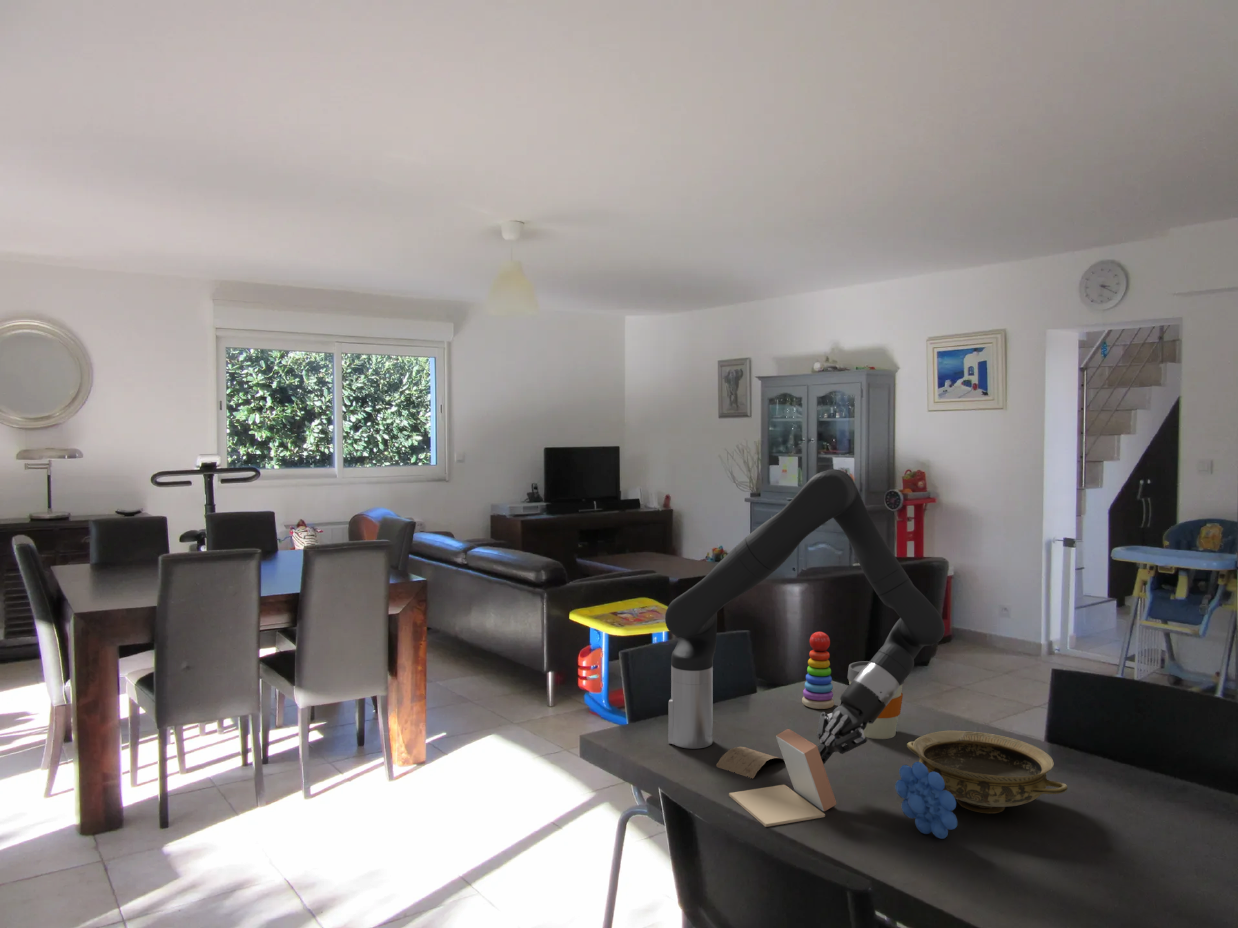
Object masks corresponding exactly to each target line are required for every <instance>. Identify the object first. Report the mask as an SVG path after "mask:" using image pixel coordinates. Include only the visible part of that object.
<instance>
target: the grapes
mask: <svg viewBox="0 0 1238 928" xmlns="http://www.w3.org/2000/svg"><path fill="white" fill-rule="evenodd" d="M898 774H899V777H900V779H898V780H897V781H896V782H895V784H894V788H895V792H896V794H897V795H898V796H899V797H900V798H902V799H903V801H901V805H900V807H901V811H902V812H903V814H904V815H905V816H906V817H907V818H909V819H914V824H915V826H916V829H917V830H918V831H919V832H920V833H921V834H924V835H929V834H931V833H932V834H933V836H935V838H938V839H941V840H943V839H945V838H946V837H948V836H949V835H948V833H949V830H955V829H956V828H957V826H958V818H957V816H956V814H955V813H954V812H953V811H954V810H955V809H956V807H957V799H956V798H955V797H954V796H953V795H952V794H951V793H950V792H949V791H946V790H943V789H944V787H945V783H944V780H943V778H942V776H941V775H940V774H939V773H937V772H935V771H934V772H930V773H929V772H928V769H927V767H926V766H925V765H924V764H923V763H921V762H919V761H914V763H913V764H912V765H911V766H909V765H908V764H903V765H902V766H901V767H899V770H898ZM942 790H943V791H942Z"/></svg>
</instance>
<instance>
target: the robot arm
mask: <svg viewBox="0 0 1238 928" xmlns="http://www.w3.org/2000/svg"><path fill="white" fill-rule="evenodd" d="M832 519H834V521H835V522H836V523H837V525H838V526H839V527H840V528H841V530H842V531H843V532H844V534H845V536H846V538H847V539H848V541H849V543H850V545H851V547H852V549H853V552H854V554H855V557H856V559H857V561H858V563H859V566H860V568H861V570H862V572H863V575H864V576H865V578H866V580H867V581H868V582H869V584H870V586H871V587H872V589H873V590H874V592H875V593H876V595H877V596H878V598H879V599H880V600H881V602H882V604H883V605H885V606H886V607H888V608H891V609H892V610H894V611H895V613H896V614H897V615H898V617H899V619H898V620H897V621H896V622H895V624H894V625H893V627H892V628H891V629H890V632H889V634H888V635H887V637H886V638H885V641H884V643H883V645H882V646H881V647H880V649H878V651H877V652H875V654H874V655H873V657H872V658H871V659H870V660H869V661H870V662H869V663H868V664H867V665H866V666H865V667H864V668H863V669H862V670H861V671H860V672H859V674H858V675H857V676H856V677H855V679H854V680H853V681H852V682H851V684H849V685H848V686H847V688H846V689H845V690H844V691H843V692H842V694H841V695H840V697H839V699H840V704H839V705H838V706H837V707H835V708H834V709H833V710H832V712H830V713H826V712H825V711H822V712H821V713H820V714H819V715H820V716H819V720H818V725H817V731H816V736H817V738H818V739H819V744H818V745H816V746H817V747H818V750H819V753H820V756H821V759H822V762H823V765H824V766H825V764H826V763H827V762H828V760H829V759H830V757H831V756H832V755H833V754H836V753H839V754H841V755H843V754H845V753H847V752H850V751H851V750H854V749H856V748H858V747H861V746H862V745H864V744H866V743H867V742H868V738H867V737H865V736H864V732H863V730H865V728H866V725H867V723H869V724H872V723H874V721H875V720H876V719H877V717H878V716H879V715H880V714H881V712H882V711H883V710H884V708H885V707H886V706H887V705H888V703H889V702H890V701H891V699H892V698H893V697H894V695H895V693H896V691H897V690H898V688H899V687H900V685H901V684H902V683H903V682H904V683H905V681H906V680H907V679H906V678H908V677H909V675H910V674H911V672H912V670H913V669H914V667H915V660H914V659H916V657H917V656H918V655H919V653H920V651H921V650H922V649H923V648H924V647H927V646H929V647H930V646H933V645H936V644H938V643H940V641H942V639H943V637H944V635H945V631H946V627H945V622H944V621H943V620H944V619H943V618H942V616H941V614H940V613H939V611H938V609H936V607H935V606H934V604H932V602H930V600H929V599H928V598H927V597H926V596H925V595H924V594H923V593H922V592H921V591H920V590H919V589H918V588H917V587H916V586H915V585H914V584H913V581H912V580H911V578H909V575H908V574H907V572H906V571H905V570H904V568H903V566H902V564H901V563H900V562H899V560H898V559H897V557H896V556H895V554H894V553H893V552H892V550H891V548H890V547H889V545H888V544H887V543H886V541H885V540H884V538H883V536H882V535H881V533H880V531H879V529H878V528H877V526H876V524H875V522H874V520H873V518H872V517H871V516H870V514H869V512H868V509H867V507H866V505H865V503H864V500H863V499H862V496H861V494H860V492H859V489H858V488H857V485H856V483H855V481H854V479H853V478H852V476H851V475H850V474H848V473H847V472H845V471H843V470H841V469H838V468H832V469H831V468H830V469H826V470H824V471H820V472H818V473H816V474H815V475H813V476H812V477H811V478H809V480H808V481H807V482H806V483H805V484H804V485H803V487H802V488H801V489H800V490H799V491H798V492H797V494H796V495H794V497H793V498H792V499H791V500H790V501H789V502H788V503H787V504H786V505H785V506H784V507H783V508H782V509H781V510H780V511H779V512H778V513H776V514H774V515H773V516H772V517H770V518H769V519H767V520H765V522H763V523H762V524H760V525H759V526H758V527H756V528H755V529H754V530H753V531H752V532H750V533H749V534H748V535H747V536H746V537H744V538H743V539H742V540H741V541H740V542H739V543H738V544H737V545H736V546H735V547H733V548H732V550H730V551H729V552H728V553H727V554H726V555H725V556H724V557H723V558H722V559H721V560H720V561H719V562H718V563H717V564H716V565H715V566H714V567H713V568H712V569H711V570H710V571H709V572H708V574H706V576H704V577H703V578H702V579H701V580H700V581H698V582H697V583H696V584H695V585H693V586H692V587H690V588H689V589H687V590H686V591H685V592H683V593H682V594H680V595H678V596H677V597H676V598H675V599H673V600H672V601H671V602H670V603H669V605H668V606H667V608H666V611H665V617H664V621H665V625H666V628H667V630H668V632H670V634H672V635H673V636H676V637H678V639H677V643H676V645H675V648H674V649H673V650H672V653H671V657H670V660H671V662H670V663H671V667H670V670H671V671H670V672H671V673H670V674H671V675H670V678H671V680H670V683H671V684H670V685H671V686H670V687H671V688H670V690H671V691H670V693H671V694H670V695H671V697H670V699H669V700H668V711H667V712H668V715H667V717H668V718H667V719H668V726H667V727H668V729H667V731H668V733H667V734H668V742H667V743H668V744H672V745H675V746H676V747H679V748H684V749H691V750H692V749H693V750H695V749H696V750H697V749H703V748H707V747H710V746H711V745H712V744H713V737H714V736H713V735H714V733H713V728H714V727H713V724H714V723H713V722H714V721H713V717H714V716H713V714H714V712H713V711H714V710H713V709H714V707H713V697H714V695H713V694H714V693H713V692H714V691H713V687H714V686H713V682H714V681H713V671H714V668H713V667H714V666H713V665H714V664H713V662H714V661H713V660H714V656H715V653H716V650H717V632H718V631H717V630H718V612H719V611H720V610H721V609H722V608H723V607H725V606H726V605H727V604H729V603H730V602H732V601H733V600H735V599H737V598H738V597H741V596H742V595H744V594H746V593H747V592H748V591H750V590H752V589H753V588H755V587H757V585H760V583H762V582H763V581H765V580H766V579H767V578H768V577H769V576H771V574H773V573H774V572H775V571H776V570H777V569H779V568H780V567H781V566H782V565H783V563H785V562H786V561H787V560H788V558H789V557H790V556H792V554H793V552H795V550H796V549H797V548H798V546H799V545H800V544H801V543H802V541H803V540H805V538H807V537H808V536H809V535H810V534H811V533H813V532H814V531H815V530H817V529H819V527H821V526H823V525H824V524H825V523H827V522H829V521H830V520H832ZM904 683H903V684H904ZM903 684H902V685H903Z"/></svg>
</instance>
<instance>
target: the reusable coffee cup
mask: <svg viewBox="0 0 1238 928" xmlns="http://www.w3.org/2000/svg"><path fill="white" fill-rule="evenodd" d="M870 661H871V660H869V661H868V660H866V661H864V660H863V661H862V660H861V661H856V662H852V663H850V664H849V665H848V671H847V679H848V682H849V683H848V684H849V685H850V684H851V682H852V681H853V680H854V679H855V677H856V676H857V675H858V674H859V672H860V671H861V670H862V669H863V668H864V667H865V666H866V665H867V664H868V663H869V662H870ZM904 683H905V681H904V682H903V683H902V684H901V685H900V687H899V688H898V690H897V691H896V693H895V695H894V697H893V698H892V699H891V701H890V702H889V703H888V705H887V706H886V707H885V708H884V710H883V711H882V712H881V714H880V715H879V716H878V717H877V719H876V720H875V721H874V723H872V724H869V723H867V725H866V728H865V730H863V732H864V736H865V737H866V738H867V739H873V740H886V739H891V738H894V737H895V736H896V732H897V726H898V725H897V724H898V719H899V716H900V715H901V709H902V703H903V702H902V701H903V697H904V694H903V693H902V692H903V691H902V689H903V685H904Z"/></svg>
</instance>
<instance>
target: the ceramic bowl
mask: <svg viewBox="0 0 1238 928" xmlns="http://www.w3.org/2000/svg"><path fill="white" fill-rule="evenodd" d="M906 747H907V748H908V750H910V751H911V752H912V753H913V754H915V755H916V756H917V757H919V760H918V762H921V763H923V764H924V765H925V766H926V767H927V769H928V772H929V773H930V772H934V771H935V772H937V773H939V774H940V775H941V776H942V778H943V780H944V783H945V787H944V789H943V790H946V791H949V792H950V793H951V794H952V795H953V796H954V797H955V800H956V803H958V804H959V805H960V806H961V807H962V808H965V809H967V810H968V811H972V812H976V813H982V814H999V813H1001V812H1004V811H1005V809H1006V808H1007V807H1016V806H1017V807H1018V806H1020V805H1024V804H1029V803H1030V802H1031V803H1032V802H1033V801H1034V800H1036V799H1038V798H1039V797H1040V796H1042V795H1043V794H1044V795H1059V794H1062V793H1065V792H1067V790H1068V785H1067V784H1066V783H1064V782H1060V781H1055V780H1049V779H1048V777H1047V773H1049V772H1050V771H1051V770H1052V769H1053V768H1054V764H1055V763H1054V760H1053V758H1052V756H1051V755H1050V754H1048V753H1047V752H1045V751H1044V750H1043V749H1041V748H1039V747H1038V746H1035V745H1033V744H1030V743H1027V742H1025V741H1022V740H1019V739H1016V738H1012V737H1007V736H1004V735H999V734H993V733H988V732H979V731H966V730H965V731H964V730H941V731H935V732H929V733H927V734H923V735H921V736H920V737H918V738H916V739H915V740H914V741H909V742H908V743H906ZM1047 787H1052V788H1047ZM943 790H942V791H943Z"/></svg>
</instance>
